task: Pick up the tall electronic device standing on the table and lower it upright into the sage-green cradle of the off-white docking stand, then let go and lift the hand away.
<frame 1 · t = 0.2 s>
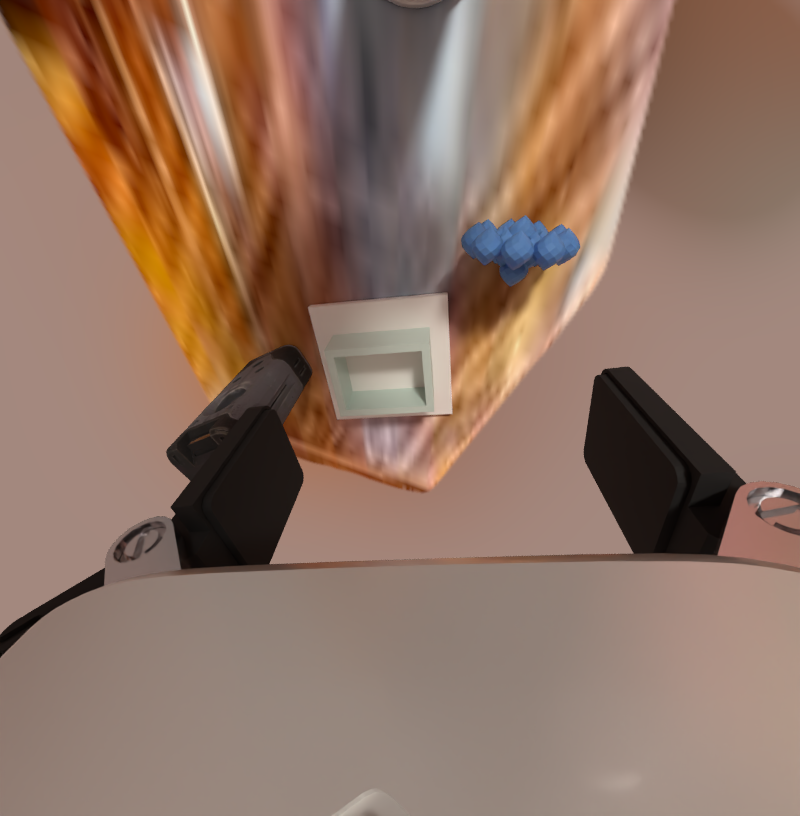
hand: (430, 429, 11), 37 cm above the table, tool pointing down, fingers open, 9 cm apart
electronic device: (280, 368, 53), on the table
dock: (386, 361, 50), on the table
grapes: (506, 242, 41), on the table
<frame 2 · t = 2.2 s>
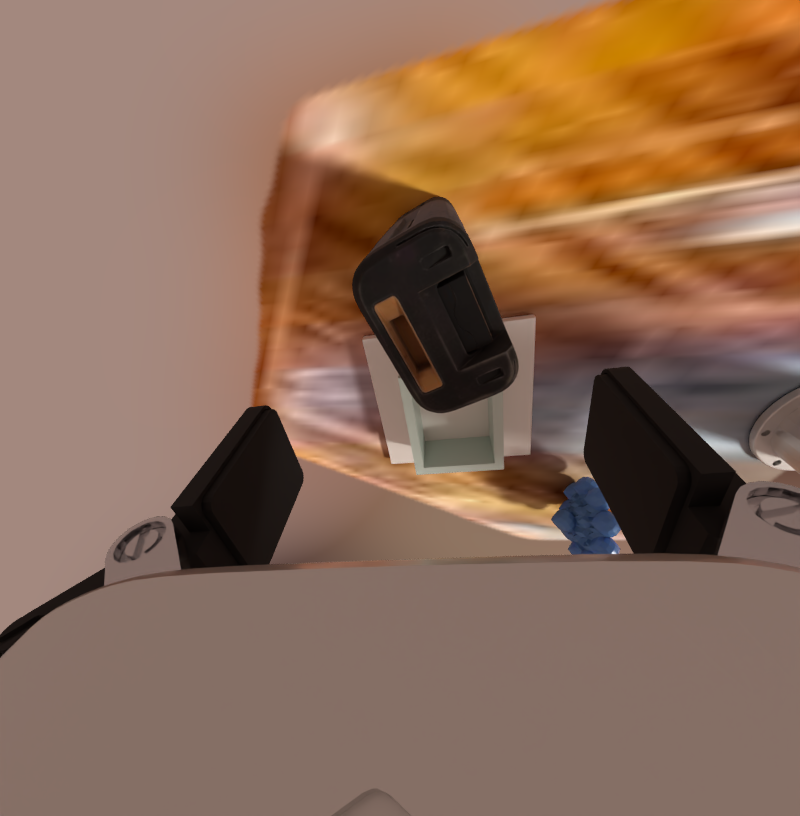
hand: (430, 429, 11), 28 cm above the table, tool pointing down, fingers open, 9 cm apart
electronic device: (438, 255, 34), on the table
dock: (452, 397, 42), on the table
grapes: (564, 484, 49), on the table
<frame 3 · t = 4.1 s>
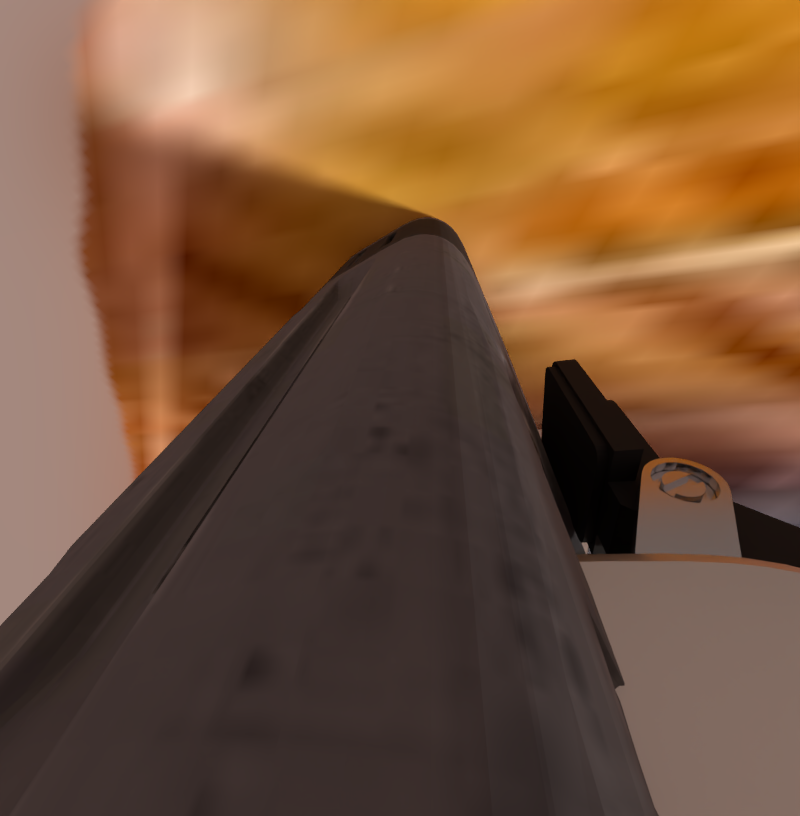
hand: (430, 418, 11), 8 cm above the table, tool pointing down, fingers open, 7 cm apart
electronic device: (429, 326, 18), on the table, touching gripper
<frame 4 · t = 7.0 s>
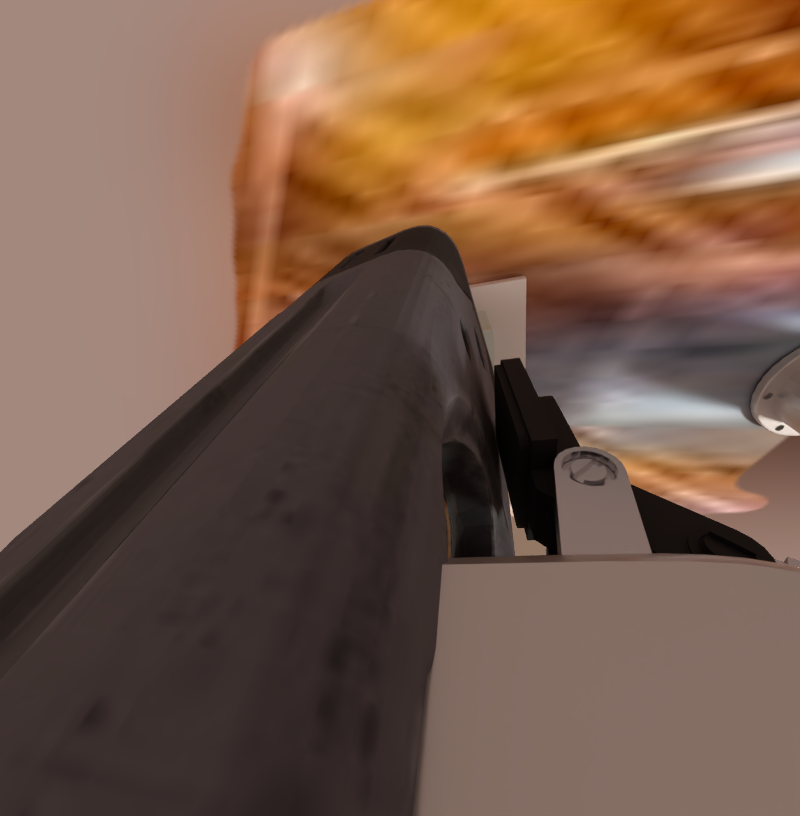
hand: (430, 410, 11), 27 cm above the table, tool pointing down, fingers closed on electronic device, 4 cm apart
electronic device: (420, 331, 18), point 19 cm above the table, touching gripper
dock: (442, 369, 41), on the table
when the fingers open (10 cm above the table, at t = 10.7 s): electronic device drops 2 cm, point 1 cm above the table.
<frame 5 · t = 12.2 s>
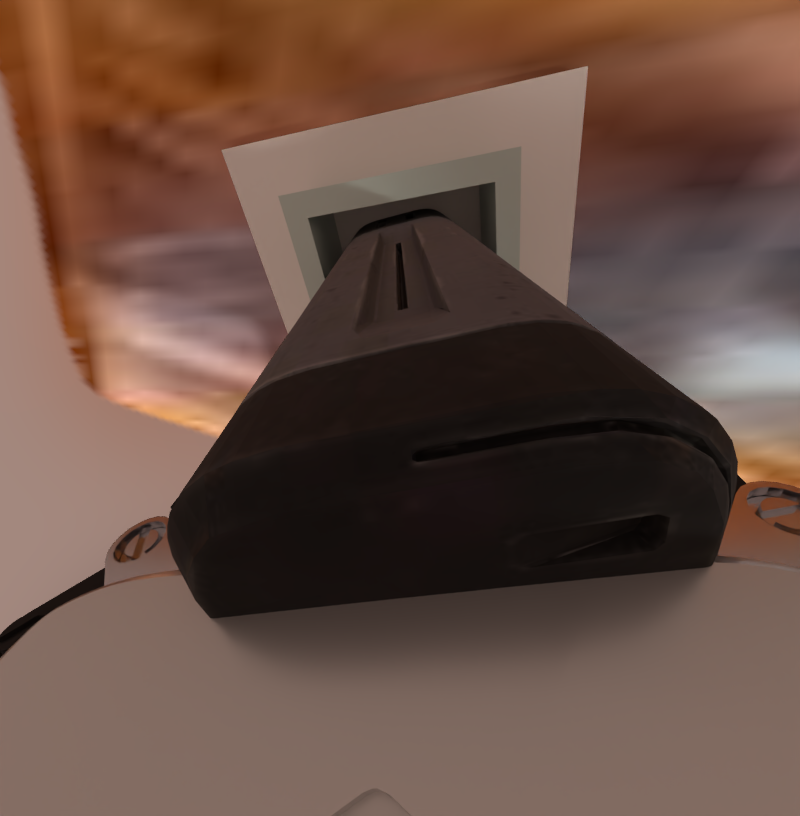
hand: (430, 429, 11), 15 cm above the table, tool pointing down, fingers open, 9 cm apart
electronic device: (412, 297, 22), point 1 cm above the table, touching dock
dock: (417, 291, 23), on the table
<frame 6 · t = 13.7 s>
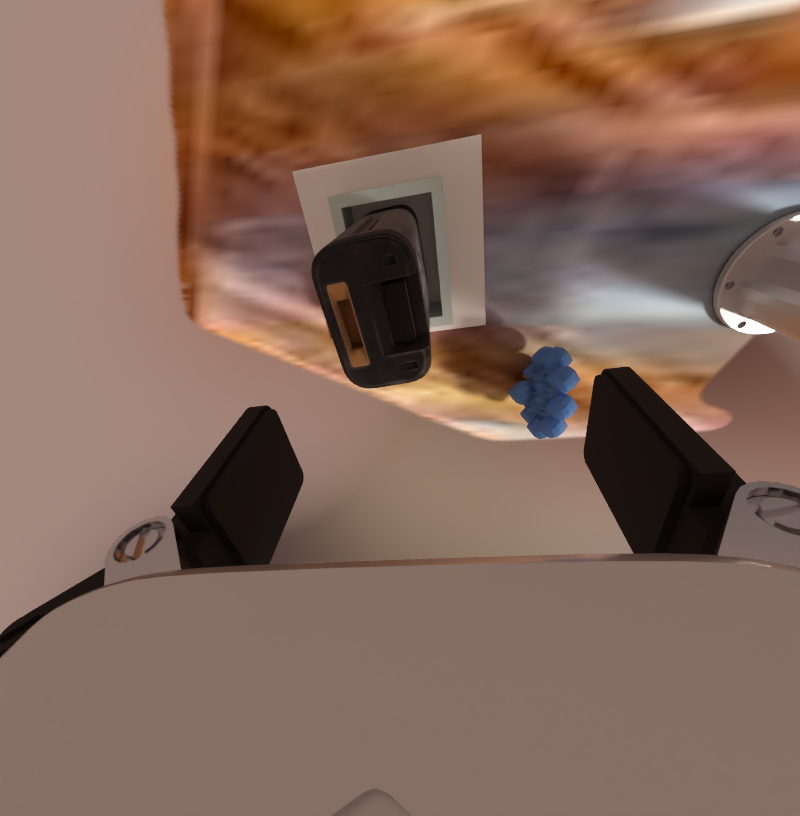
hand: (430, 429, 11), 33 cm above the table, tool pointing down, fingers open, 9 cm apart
electronic device: (395, 255, 38), point 1 cm above the table, touching dock
dock: (398, 253, 39), on the table
grapes: (524, 367, 46), on the table
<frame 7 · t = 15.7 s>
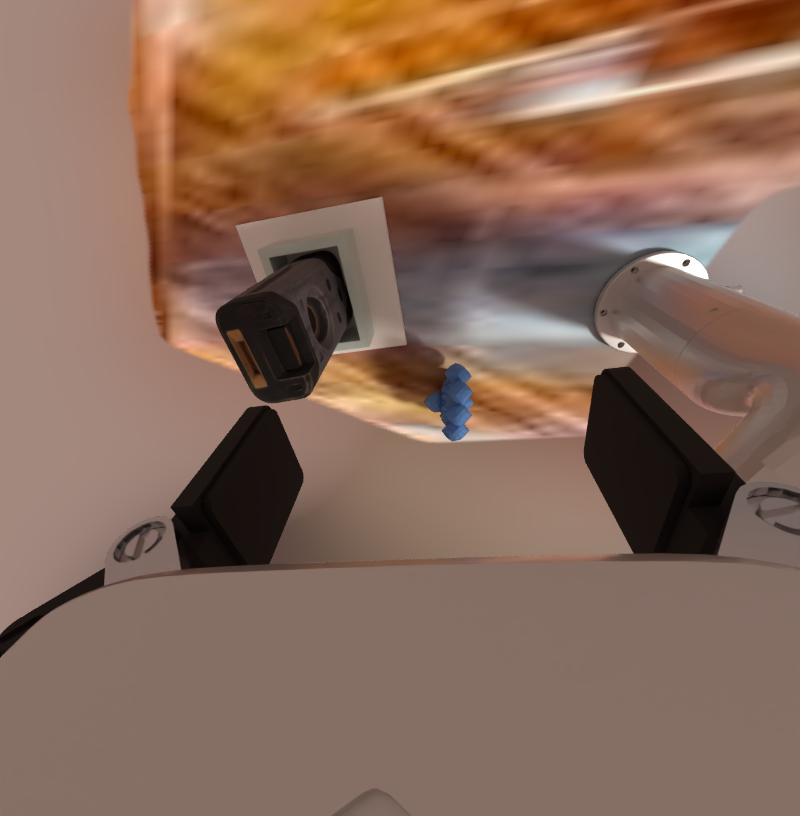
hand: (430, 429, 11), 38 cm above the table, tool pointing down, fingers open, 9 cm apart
electronic device: (325, 289, 46), point 1 cm above the table, touching dock
dock: (329, 287, 47), on the table
grapes: (446, 380, 53), on the table
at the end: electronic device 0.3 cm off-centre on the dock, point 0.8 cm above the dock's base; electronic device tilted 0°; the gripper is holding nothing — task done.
